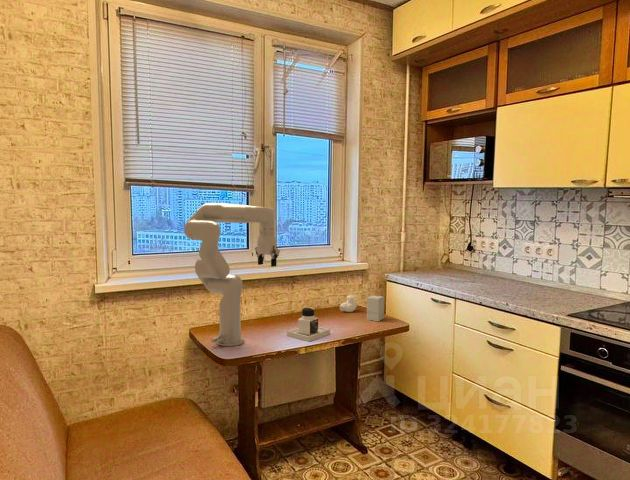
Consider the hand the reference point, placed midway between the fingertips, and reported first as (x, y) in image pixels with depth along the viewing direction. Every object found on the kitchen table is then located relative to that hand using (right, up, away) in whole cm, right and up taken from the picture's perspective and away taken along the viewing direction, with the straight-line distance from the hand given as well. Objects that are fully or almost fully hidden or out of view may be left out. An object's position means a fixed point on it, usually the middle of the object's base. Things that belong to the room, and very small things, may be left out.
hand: (267, 265), depth 221 cm
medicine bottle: (+21, -32, -10) cm, 40 cm away
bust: (+45, -30, +36) cm, 64 cm away
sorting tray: (+21, -33, -10) cm, 41 cm away
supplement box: (+58, -31, +18) cm, 68 cm away
